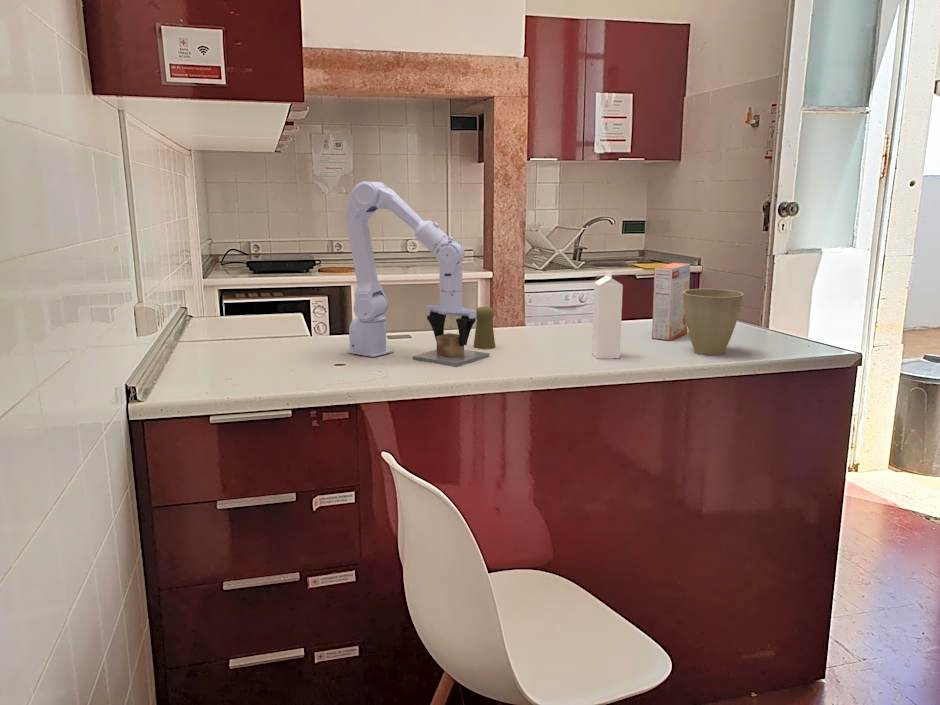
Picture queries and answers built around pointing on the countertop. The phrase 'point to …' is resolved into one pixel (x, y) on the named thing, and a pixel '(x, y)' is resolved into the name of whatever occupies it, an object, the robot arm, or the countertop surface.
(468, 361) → the slate board
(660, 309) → the cracker box
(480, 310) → the cork
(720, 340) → the plant pot
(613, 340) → the milk
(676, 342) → the countertop surface
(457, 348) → the walnut cube
